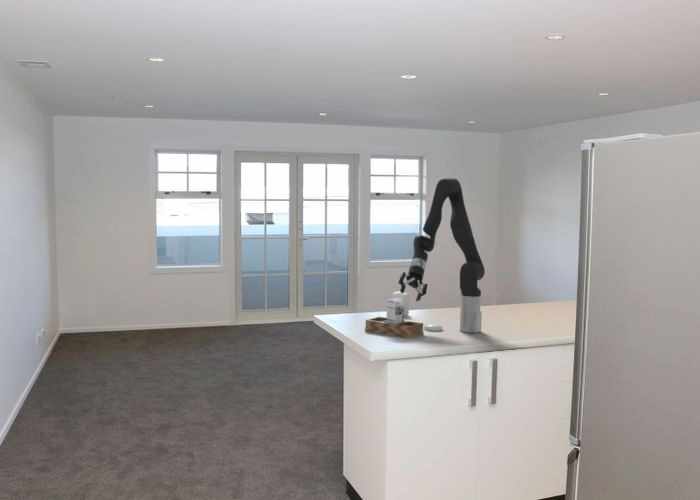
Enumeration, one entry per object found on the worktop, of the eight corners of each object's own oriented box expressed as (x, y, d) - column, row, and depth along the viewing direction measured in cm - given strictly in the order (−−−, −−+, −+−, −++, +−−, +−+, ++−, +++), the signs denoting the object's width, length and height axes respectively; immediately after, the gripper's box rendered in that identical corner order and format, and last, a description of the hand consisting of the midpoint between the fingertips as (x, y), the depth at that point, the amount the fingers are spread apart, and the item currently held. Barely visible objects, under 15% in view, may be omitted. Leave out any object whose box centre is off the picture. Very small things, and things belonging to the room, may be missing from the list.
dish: (445, 329, 326) (445, 325, 325) (436, 332, 318) (436, 328, 318) (429, 327, 331) (429, 323, 331) (420, 329, 324) (420, 325, 323)
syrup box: (394, 331, 310) (395, 300, 309) (385, 329, 315) (386, 298, 314) (403, 330, 314) (404, 299, 312) (395, 328, 318) (396, 297, 317)
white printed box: (390, 313, 365) (391, 290, 364) (396, 312, 368) (397, 290, 367) (403, 316, 357) (404, 293, 356) (409, 315, 360) (410, 292, 359)
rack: (423, 334, 313) (423, 323, 312) (408, 338, 302) (409, 327, 302) (380, 327, 327) (380, 316, 326) (364, 331, 316) (365, 320, 316)
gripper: (408, 259, 326) (401, 287, 317) (433, 272, 329) (426, 300, 320) (401, 266, 332) (393, 293, 323) (425, 278, 335) (418, 306, 326)
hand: (409, 296), depth 321 cm, fingers open, 8 cm apart
